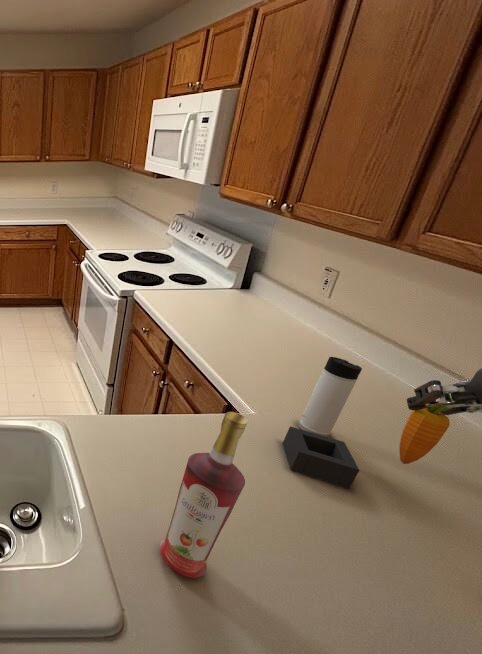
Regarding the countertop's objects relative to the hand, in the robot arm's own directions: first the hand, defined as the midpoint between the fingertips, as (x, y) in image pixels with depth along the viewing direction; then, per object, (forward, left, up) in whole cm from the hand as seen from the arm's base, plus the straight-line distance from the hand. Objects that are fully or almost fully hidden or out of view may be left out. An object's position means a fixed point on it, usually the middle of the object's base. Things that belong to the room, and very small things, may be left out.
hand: (425, 406), depth 74 cm
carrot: (0, +2, -11) cm, 12 cm away
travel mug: (+5, -22, -22) cm, 32 cm away
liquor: (+34, +36, -22) cm, 54 cm away
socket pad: (+8, -6, -22) cm, 24 cm away
